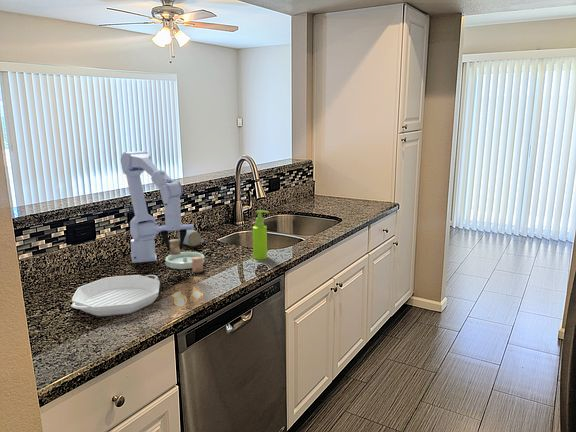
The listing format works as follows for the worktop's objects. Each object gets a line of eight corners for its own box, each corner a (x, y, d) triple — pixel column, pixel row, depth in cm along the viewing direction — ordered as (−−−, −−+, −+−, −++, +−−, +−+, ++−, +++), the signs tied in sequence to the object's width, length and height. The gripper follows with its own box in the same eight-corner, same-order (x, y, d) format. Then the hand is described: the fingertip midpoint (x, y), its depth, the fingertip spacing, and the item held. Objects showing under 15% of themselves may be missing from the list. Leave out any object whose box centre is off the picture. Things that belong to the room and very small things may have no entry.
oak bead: (169, 255, 168) (168, 242, 167) (169, 252, 172) (168, 239, 170) (180, 254, 169) (179, 241, 168) (180, 251, 173) (179, 238, 172)
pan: (131, 279, 163) (130, 268, 162) (183, 293, 150) (182, 281, 149) (49, 311, 137) (47, 297, 136) (102, 331, 124) (101, 316, 123)
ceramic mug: (189, 248, 200) (188, 231, 198) (178, 245, 205) (177, 228, 203) (208, 244, 208) (207, 227, 206) (197, 240, 213) (196, 225, 211)
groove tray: (166, 270, 172) (166, 265, 171) (165, 258, 186) (165, 253, 185) (206, 266, 176) (205, 261, 176) (202, 255, 190) (201, 250, 190)
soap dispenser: (267, 260, 184) (267, 212, 180) (251, 258, 186) (250, 211, 181) (271, 255, 190) (270, 209, 185) (255, 254, 191) (254, 208, 187)
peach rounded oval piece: (193, 272, 169) (192, 260, 168) (192, 269, 173) (191, 257, 172) (203, 271, 170) (203, 259, 169) (202, 268, 174) (202, 256, 173)
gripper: (152, 218, 161) (154, 254, 164) (193, 215, 165) (195, 251, 168) (152, 213, 168) (154, 248, 171) (192, 211, 172) (193, 245, 175)
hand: (174, 249), depth 170 cm, fingers closed on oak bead, 4 cm apart
